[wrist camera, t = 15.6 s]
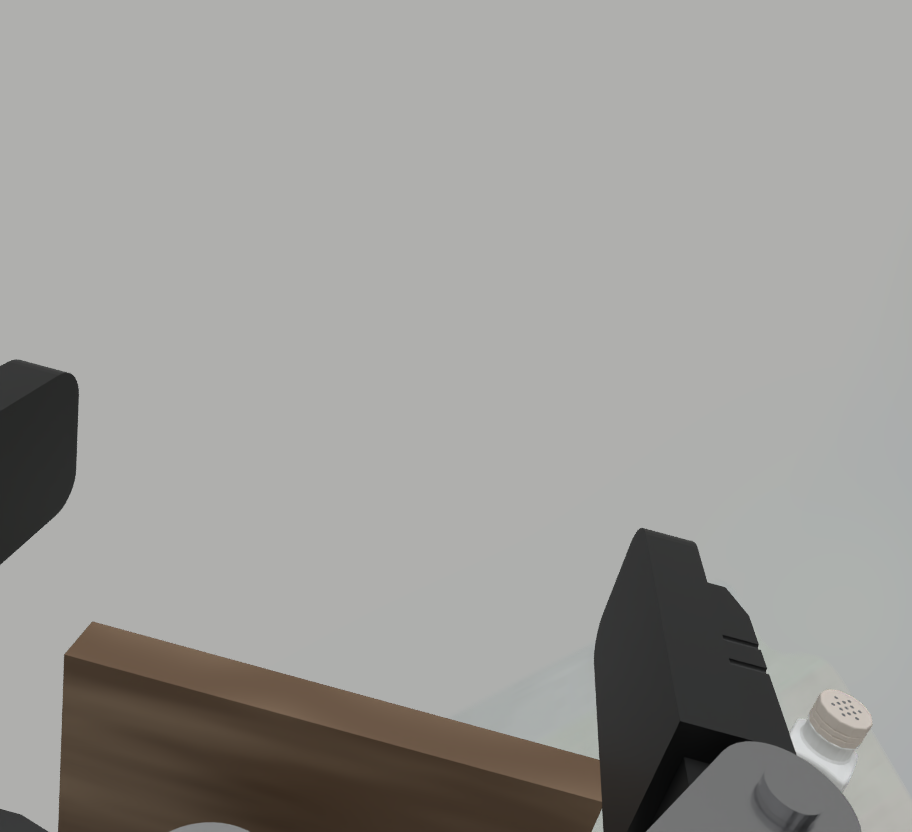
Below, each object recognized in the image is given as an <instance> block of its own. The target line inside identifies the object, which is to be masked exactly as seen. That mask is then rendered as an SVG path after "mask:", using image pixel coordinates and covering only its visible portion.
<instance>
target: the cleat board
mask: <svg viewBox="0 0 912 832" xmlns="http://www.w3.org/2000/svg"><path fill="white" fill-rule="evenodd" d="M601 809H602V795H601V777H600V760H597V759H594V758H590V757H586V756H583V755H579V754H575V753H572V752H568V751H564V750H561V749H557V748H553V747H550V746H546V745H542V744H539V743H535V742H531V741H528V740H524V739H520V738H517V737H513V736H509V735H506V734H502V733H498V732H495V731H491V730H487V729H484V728H480V727H477V726H473V725H469V724H466V723H462V722H458V721H455V720H451V719H447V718H443V717H440V716H436V715H433V714H429V713H425V712H422V711H418V710H414V709H410V708H407V707H403V706H400V705H396V704H392V703H388V702H385V701H381V700H378V699H374V698H370V697H366V696H363V695H359V694H356V693H352V692H348V691H345V690H341V689H337V688H334V687H330V686H326V685H323V684H319V683H316V682H312V681H308V680H304V679H301V678H297V677H294V676H290V675H286V674H282V673H279V672H275V671H271V670H268V669H264V668H261V667H257V666H253V665H250V664H246V663H242V662H239V661H235V660H231V659H227V658H224V657H220V656H217V655H213V654H209V653H206V652H202V651H198V650H195V649H191V648H187V647H184V646H180V645H176V644H173V643H169V642H165V641H162V640H158V639H154V638H151V637H147V636H143V635H139V634H136V633H132V632H129V631H125V630H122V629H118V628H114V627H111V626H107V625H103V624H99V623H96V622H91V624H90V625H89V626H88V627H87V628H86V630H85V631H84V632H83V633H82V635H80V637H79V638H78V639H77V640H76V642H75V643H74V644H73V645H72V646H71V647H70V648H69V650H68V651H67V652H66V653H65V654H64V680H63V709H62V738H61V767H60V795H59V823H58V832H170V831H172V830H174V829H177V828H179V827H183V826H186V825H190V824H196V823H204V822H217V823H225V824H230V825H234V826H238V827H240V828H243V829H245V830H248V831H249V832H591V831H592V829H593V827H594V825H595V823H596V820H597V818H598V816H599V814H600V811H601Z"/></svg>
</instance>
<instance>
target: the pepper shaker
mask: <svg viewBox="0 0 912 832" xmlns="http://www.w3.org/2000/svg"><path fill="white" fill-rule="evenodd" d="M872 725H873V724H872V716H871V714H870V713H869V712H868V710H867V709H866V708H865V706H864V705H863V704H861V703H860V702H859V701H858V700H856V699H855V698H854V697H852V696H851V695H848V694H846V693H844V692H841V691H839V690H831V689H827V690H825V691H823V692H822V693H820V695H819V696H818V698H817V700H816V702H815V703H814V705H813V708H812V709H811V710H810V712H809V714H808V719H802V718H798V719H797V720H796V722H795V724H794V725H793V727H792V729H791V731H790V733H789V734H790V737H791V740H792V743H793V746H794V749H795V752H796V755H797V756H799V757H801V758H802V759H804V760H805V761H807V762H808V763H810V764H811V765H813V766H814V767H816V768H817V769H818V770H819V771H821V772H822V773H823V774H824V775H825V776H826V777H827V778H828V779H830V780H831V781H832V782H833V783H834V784H835V785H836V787H837V788H838V789H839V790H840V791H841V792H843V791H844V789H845V788H846V786H847V785H848V783H849V781H850V778H851V776H852V774H853V771H854V769H855V766H856V763H857V760H858V755H857V753H856V751H855V749H858V747H859V746H860V744H861V743H862V741H863V740H864V738H865V736H866V735H867V733H868V731H869V730H870V728H871V727H872Z"/></svg>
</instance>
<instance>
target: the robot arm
mask: <svg viewBox="0 0 912 832" xmlns="http://www.w3.org/2000/svg"><path fill="white" fill-rule="evenodd" d="M78 399H79V389H78V384H77V381H76V379H75V377H74V376H73V375H72V374H70V373H67V372H63V371H59V370H56V369H52V368H48V367H44V366H40V365H37V364H33V363H29V362H26V361H22V360H12V361H9V362H7V363H6V364H3V365H1V366H0V564H2V563H3V561H5V560H6V559H7V558H8V557H9V556H11V555H12V554H13V553H14V552H15V551H16V550H17V549H19V548H20V547H21V546H22V545H23V544H24V543H25V542H26V541H28V540H29V539H30V538H31V537H32V536H33V535H34V534H35V533H37V532H38V531H39V530H40V529H41V528H42V527H43V526H44V525H45V524H47V523H48V522H49V521H50V520H51V519H52V518H53V517H55V516H56V515H57V513H59V511H60V510H61V509H62V508H63V506H64V505H65V503H66V501H67V499H68V497H69V495H70V493H71V490H72V488H73V484H74V481H75V475H76V457H77V427H78ZM758 645H759V644H758V641H757V638H756V635H755V632H754V629H753V626H752V623H751V621H750V618H749V615H748V614H747V613H746V612H745V611H744V609H743V608H742V607H741V606H740V605H739V603H738V602H737V601H736V600H735V598H734V597H733V596H732V595H731V594H730V592H729V591H728V590H727V589H726V588H725V587H722V586H718V585H714V584H711V583H707V580H706V576H705V572H704V569H703V566H702V562H701V558H700V555H699V552H698V548H697V545H696V544H695V543H694V542H693V541H689V540H685V539H681V538H678V537H674V536H670V535H666V534H663V533H659V532H655V531H652V530H648V529H644V528H640V529H639V530H638V531H637V532H636V534H635V535H634V537H633V539H632V542H631V544H630V546H629V549H628V552H627V554H626V557H625V559H624V562H623V564H622V567H621V569H620V572H619V575H618V577H617V580H616V582H615V585H614V587H613V590H612V593H611V595H610V597H609V600H608V602H607V605H606V608H605V610H604V613H603V615H602V618H601V621H600V625H599V629H598V633H597V638H596V643H595V651H594V670H595V688H596V706H597V723H598V741H599V759H600V777H601V795H602V812H603V830H604V832H861V827H860V824H859V821H858V818H857V816H856V814H855V812H854V810H853V808H852V806H851V805H850V803H849V802H848V800H847V799H846V798H845V796H844V795H843V794H842V792H841V791H840V790H839V789H838V788H837V787H836V785H835V784H834V783H833V782H832V781H831V780H830V779H828V778H827V777H826V776H825V775H824V774H823V773H822V772H821V771H819V770H818V769H817V768H816V767H814V766H813V765H811V764H810V763H808V762H807V761H805V760H804V759H802V758H801V757H799V756H797V755H796V752H795V749H794V746H793V743H792V740H791V737H790V734H789V731H788V728H787V725H786V722H785V720H784V717H783V714H782V711H781V708H780V705H779V702H778V699H777V696H776V693H775V690H774V688H773V685H772V682H771V679H770V676H769V674H766V669H767V667H766V664H765V661H764V658H763V655H762V653H761V650H758ZM0 832H48V831H46V830H45V829H43V828H42V827H40V826H38V825H37V824H35V823H33V822H32V821H30V820H29V819H27V818H26V817H24V816H22V815H20V814H17V813H13V812H9V811H6V810H2V809H0Z"/></svg>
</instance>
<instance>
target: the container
mask: <svg viewBox="0 0 912 832" xmlns="http://www.w3.org/2000/svg"><path fill="white" fill-rule="evenodd" d="M170 832H249V831H248V830H245V829H243V828H240V827H238V826H234V825H230V824H225V823H217V822H204V823H196V824H190V825H186V826H183V827H179V828H177V829H174V830H172V831H170Z"/></svg>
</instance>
